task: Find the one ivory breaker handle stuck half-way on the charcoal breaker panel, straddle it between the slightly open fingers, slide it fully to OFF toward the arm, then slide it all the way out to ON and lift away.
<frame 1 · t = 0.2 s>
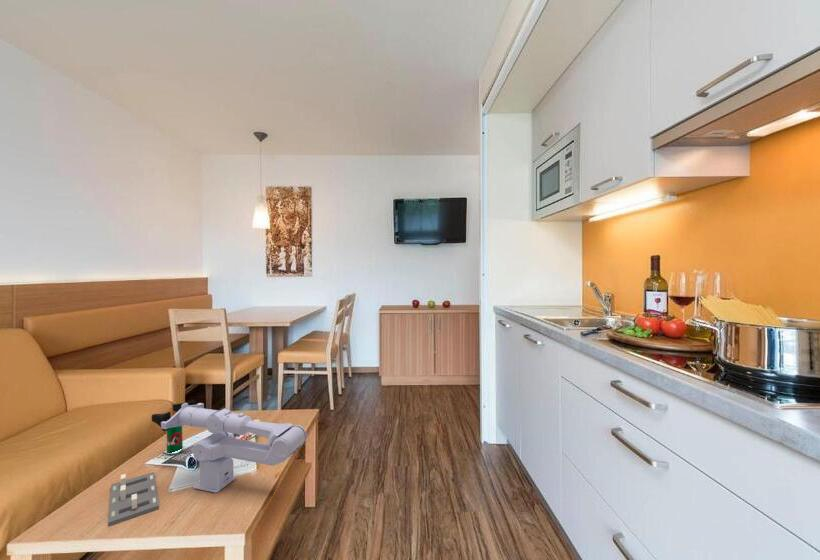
hand: (163, 412, 116), 21 cm above the table, tool horizontal, fingers open, 7 cm apart
breaker panel: (133, 497, 105), on the table
soda can: (174, 452, 132), on the table
tripped handle: (134, 501, 99), point 3 cm above the table, slide at 2.5 cm
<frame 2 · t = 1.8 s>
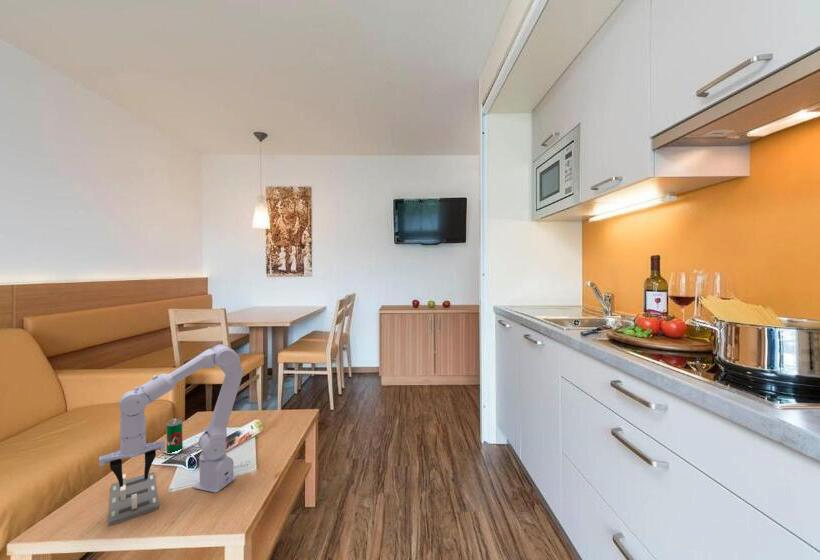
hand: (133, 481, 99), 8 cm above the table, tool pointing down, fingers open, 5 cm apart
nothing on the table moved.
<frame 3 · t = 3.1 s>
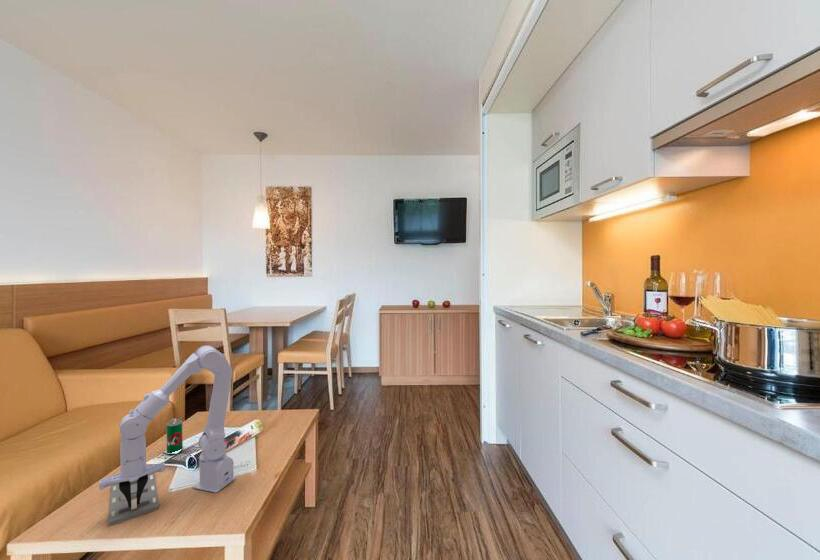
hand: (133, 504, 99), 2 cm above the table, tool pointing down, fingers closed, pressing on tripped handle
tripped handle: (133, 501, 99), point 3 cm above the table, slide at 2.6 cm, touching gripper
everything else where it was.
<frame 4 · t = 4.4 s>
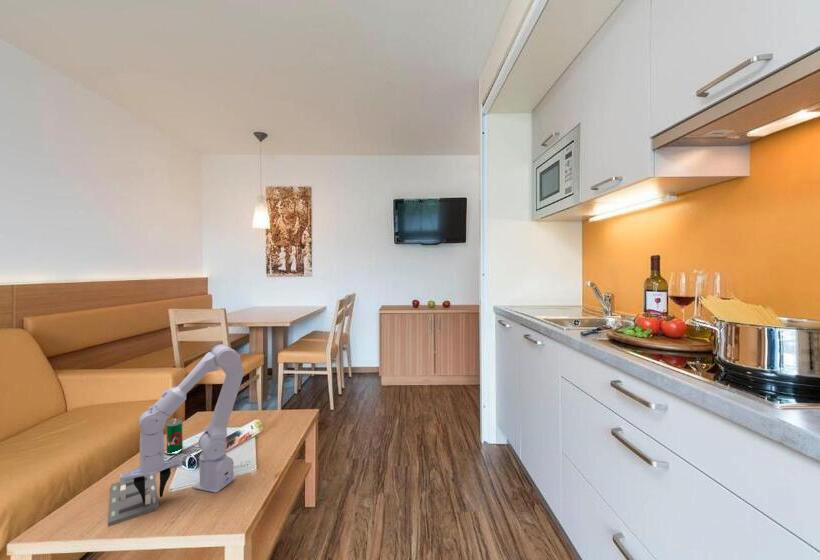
hand: (152, 498, 102), 2 cm above the table, tool pointing down, fingers open, 3 cm apart
tripped handle: (147, 496, 101), point 3 cm above the table, slide at -0.5 cm, touching gripper
everything else where it was.
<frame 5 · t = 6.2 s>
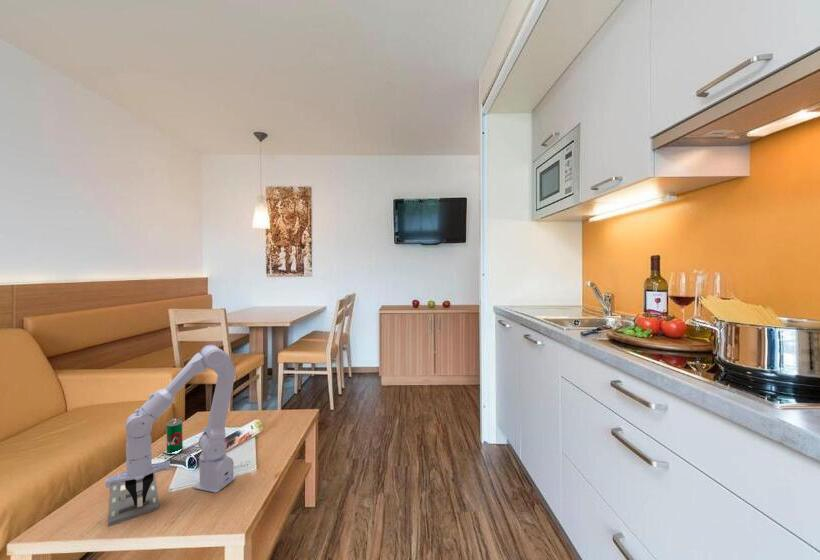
hand: (139, 502, 100), 2 cm above the table, tool pointing down, fingers closed, pressing on tripped handle
tripped handle: (139, 499, 100), point 3 cm above the table, slide at 1.3 cm, touching gripper
everything else where it was.
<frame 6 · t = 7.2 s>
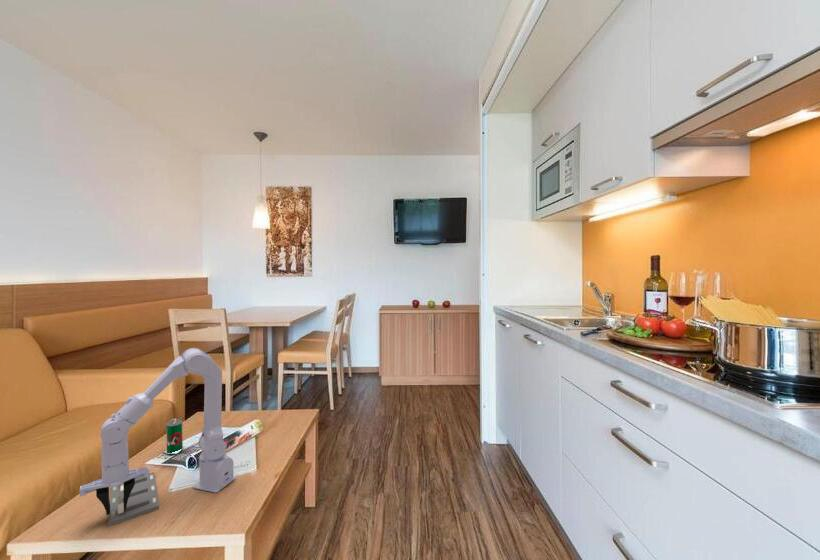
hand: (116, 510, 97), 2 cm above the table, tool pointing down, fingers open, 3 cm apart
tripped handle: (120, 505, 97), point 3 cm above the table, slide at 5.4 cm, touching gripper
everything else where it was.
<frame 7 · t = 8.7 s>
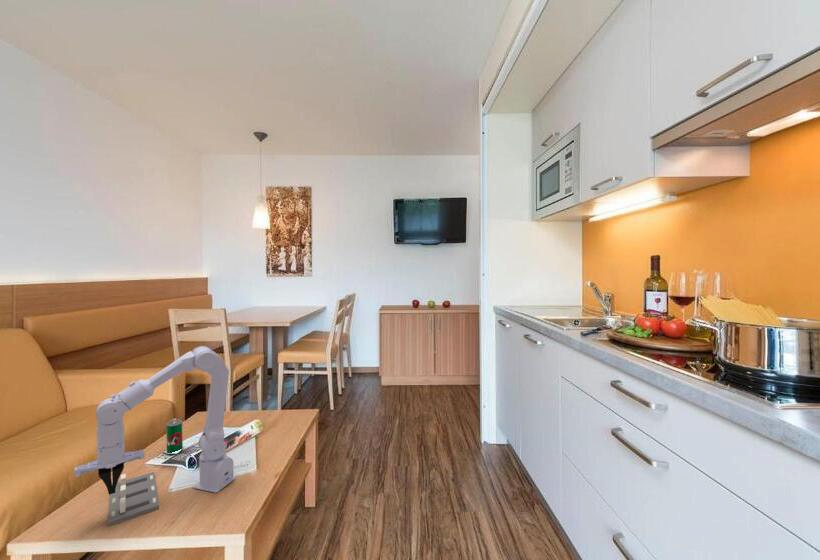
hand: (112, 492, 96), 7 cm above the table, tool pointing down, fingers closed
tripped handle: (122, 505, 98), point 3 cm above the table, slide at 5.1 cm
everything else where it was.
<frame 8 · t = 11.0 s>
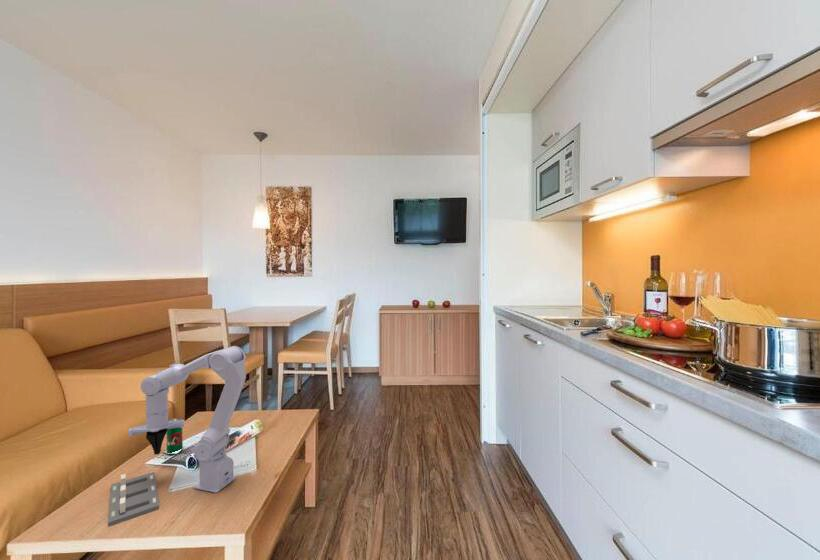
hand: (157, 452, 113), 9 cm above the table, tool pointing down, fingers closed
nothing on the table moved.
at the end: tripped handle slide at 5.1 cm; soda can moved 0.2 cm from its start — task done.
